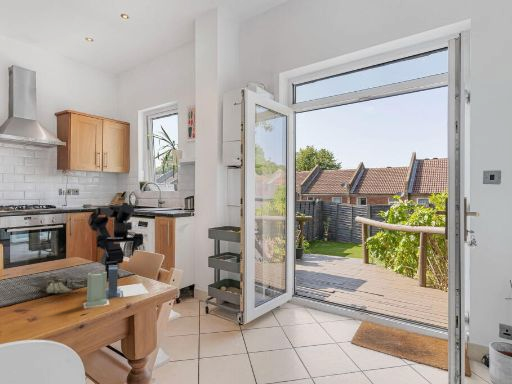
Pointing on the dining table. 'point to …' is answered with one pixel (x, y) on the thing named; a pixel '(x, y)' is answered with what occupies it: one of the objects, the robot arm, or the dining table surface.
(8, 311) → the dining table surface
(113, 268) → the blue flanged post
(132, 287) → the card
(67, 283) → the figurine
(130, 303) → the dining table surface
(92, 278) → the pale green upright block
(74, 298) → the dining table surface
